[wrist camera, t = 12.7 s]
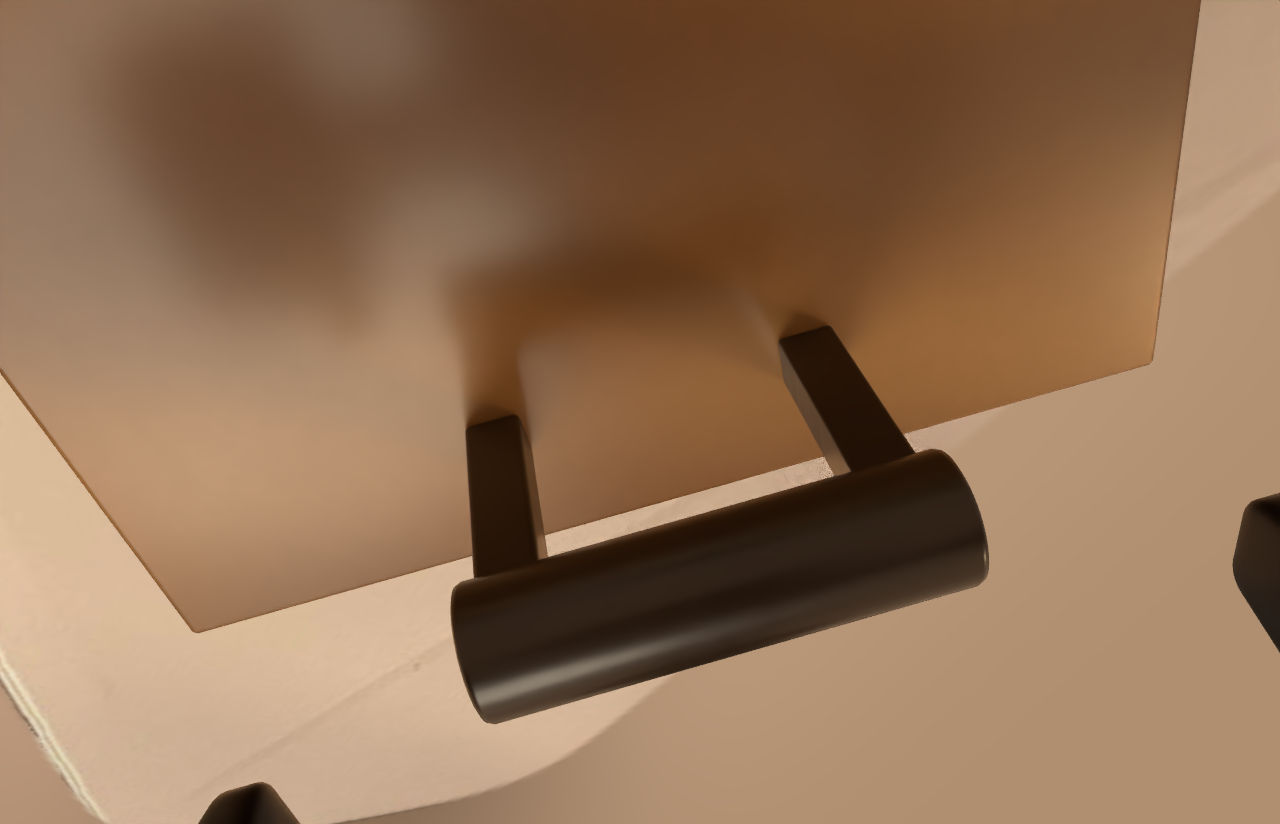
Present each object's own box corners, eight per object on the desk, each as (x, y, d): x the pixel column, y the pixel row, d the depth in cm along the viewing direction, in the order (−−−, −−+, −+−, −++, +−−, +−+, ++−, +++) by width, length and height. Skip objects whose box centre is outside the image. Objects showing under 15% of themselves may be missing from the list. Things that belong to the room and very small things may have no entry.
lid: (1122, 335, 14) (1383, 568, 10) (203, 594, 14) (120, 933, 10) (1246, -816, 8) (2080, -1347, 4) (-481, -374, 7) (-1472, -464, 4)
